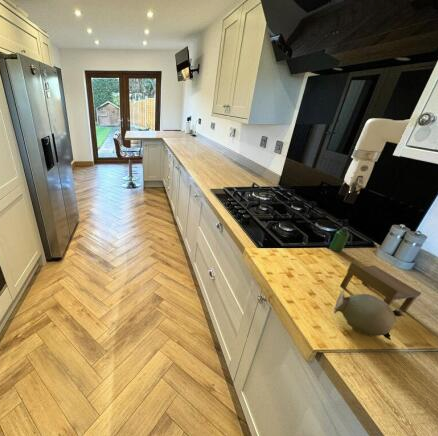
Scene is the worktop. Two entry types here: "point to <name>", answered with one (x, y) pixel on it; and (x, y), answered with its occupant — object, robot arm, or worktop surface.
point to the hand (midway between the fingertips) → (345, 198)
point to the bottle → (339, 240)
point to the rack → (382, 284)
